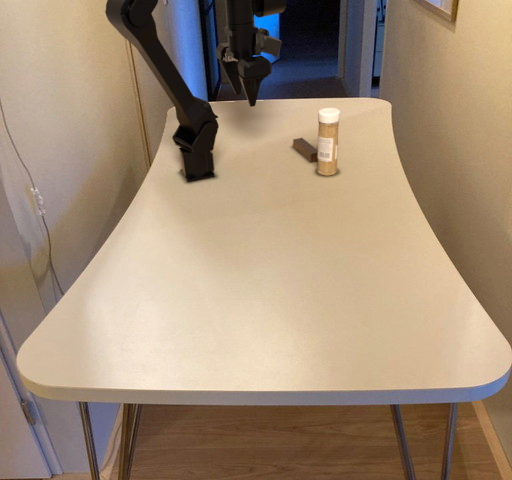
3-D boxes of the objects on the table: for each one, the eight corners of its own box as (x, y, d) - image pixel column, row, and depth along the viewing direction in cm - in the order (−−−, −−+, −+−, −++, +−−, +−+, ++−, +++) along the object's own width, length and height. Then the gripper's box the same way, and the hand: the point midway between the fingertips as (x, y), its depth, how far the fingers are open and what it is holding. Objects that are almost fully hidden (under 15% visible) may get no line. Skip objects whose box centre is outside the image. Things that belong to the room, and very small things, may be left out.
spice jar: (341, 171, 123) (344, 110, 114) (327, 178, 121) (330, 116, 112) (325, 165, 126) (328, 105, 117) (312, 172, 124) (313, 111, 115)
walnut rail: (310, 162, 128) (311, 153, 126) (293, 147, 135) (293, 139, 134) (320, 160, 128) (320, 151, 127) (301, 145, 135) (302, 137, 134)
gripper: (295, 24, 108) (295, 106, 119) (259, 9, 122) (262, 83, 132) (242, 32, 106) (247, 115, 116) (212, 15, 119) (219, 91, 129)
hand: (245, 100), depth 123 cm, fingers open, 9 cm apart
